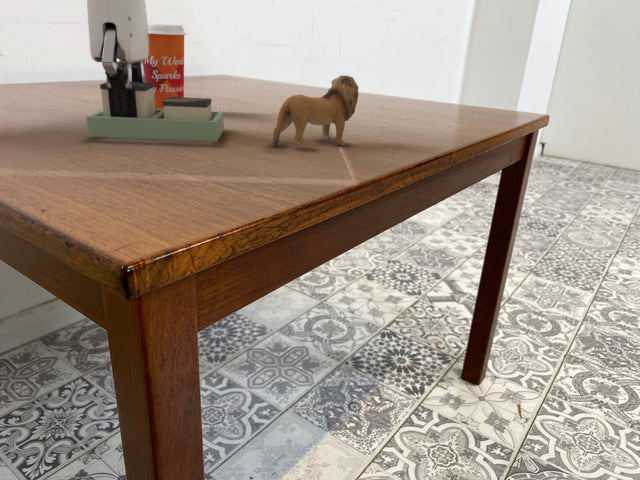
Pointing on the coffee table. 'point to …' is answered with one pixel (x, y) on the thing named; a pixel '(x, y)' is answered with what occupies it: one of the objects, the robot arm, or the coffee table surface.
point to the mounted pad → (187, 108)
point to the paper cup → (165, 62)
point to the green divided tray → (156, 127)
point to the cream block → (142, 99)
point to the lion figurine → (319, 111)
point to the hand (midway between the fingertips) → (129, 115)
